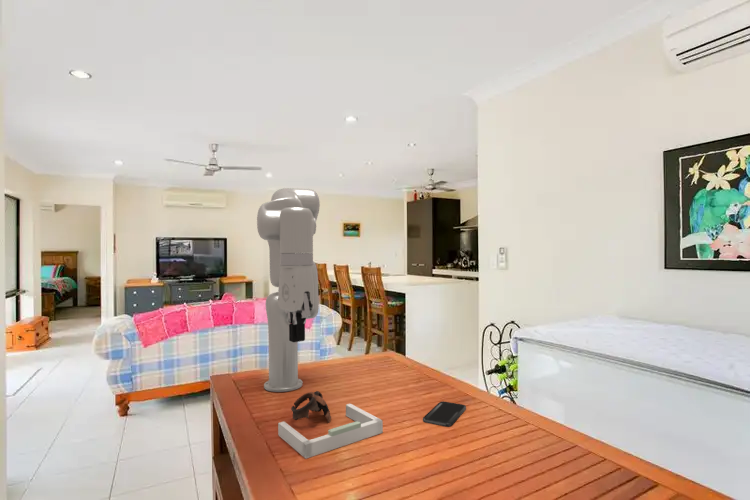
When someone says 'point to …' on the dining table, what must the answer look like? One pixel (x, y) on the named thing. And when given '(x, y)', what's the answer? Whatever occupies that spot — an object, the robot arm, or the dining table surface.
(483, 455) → the dining table surface
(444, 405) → the phone
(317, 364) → the dining table surface
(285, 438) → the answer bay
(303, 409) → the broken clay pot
